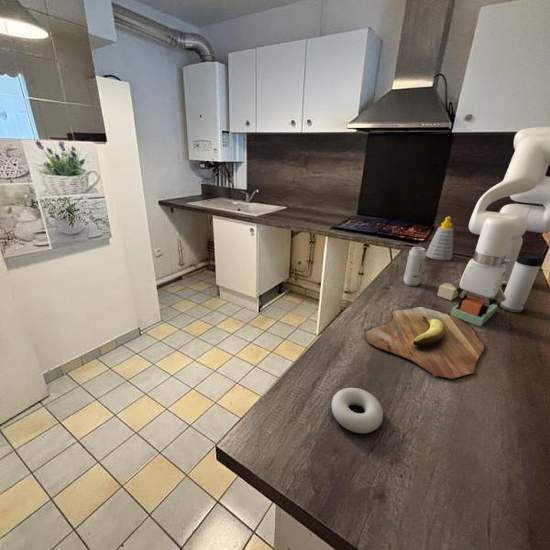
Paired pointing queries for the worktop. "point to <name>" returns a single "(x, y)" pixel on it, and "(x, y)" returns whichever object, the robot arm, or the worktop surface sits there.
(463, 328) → the cutting board
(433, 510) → the worktop surface
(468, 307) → the orange block
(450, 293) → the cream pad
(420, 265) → the energy drink can
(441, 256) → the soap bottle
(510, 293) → the travel mug
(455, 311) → the tray
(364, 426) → the donut
